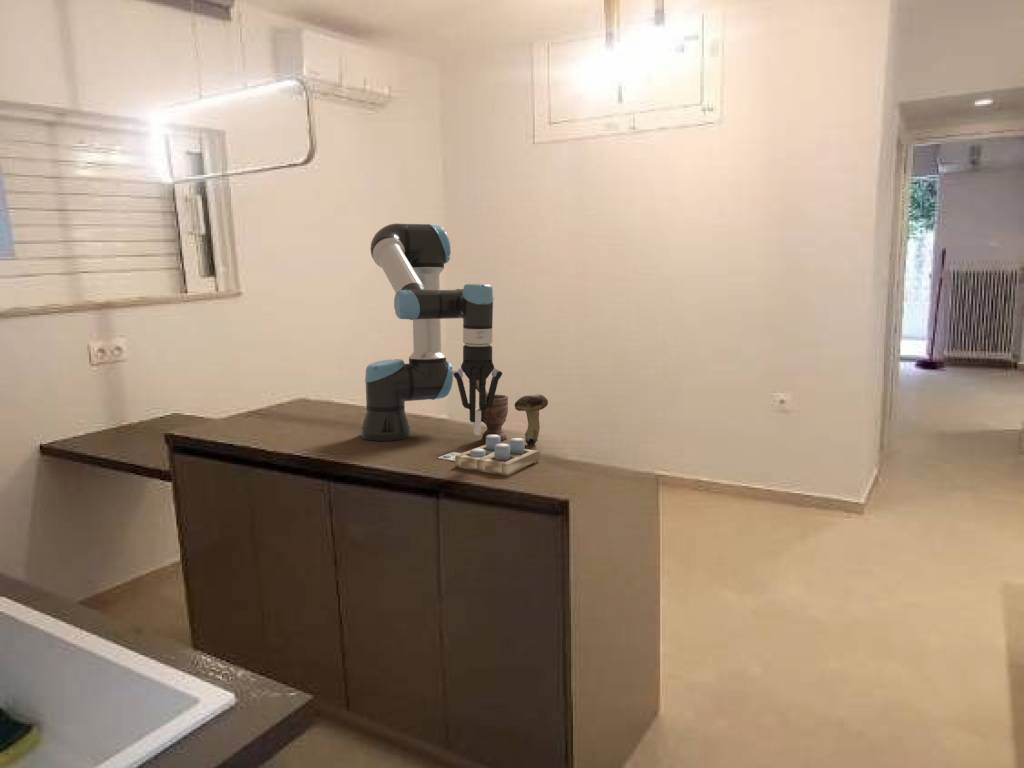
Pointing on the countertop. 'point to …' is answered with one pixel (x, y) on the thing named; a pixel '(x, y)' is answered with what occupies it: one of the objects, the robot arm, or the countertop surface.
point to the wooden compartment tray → (496, 462)
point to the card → (449, 456)
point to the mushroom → (532, 414)
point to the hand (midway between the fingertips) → (477, 433)
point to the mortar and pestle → (495, 415)
